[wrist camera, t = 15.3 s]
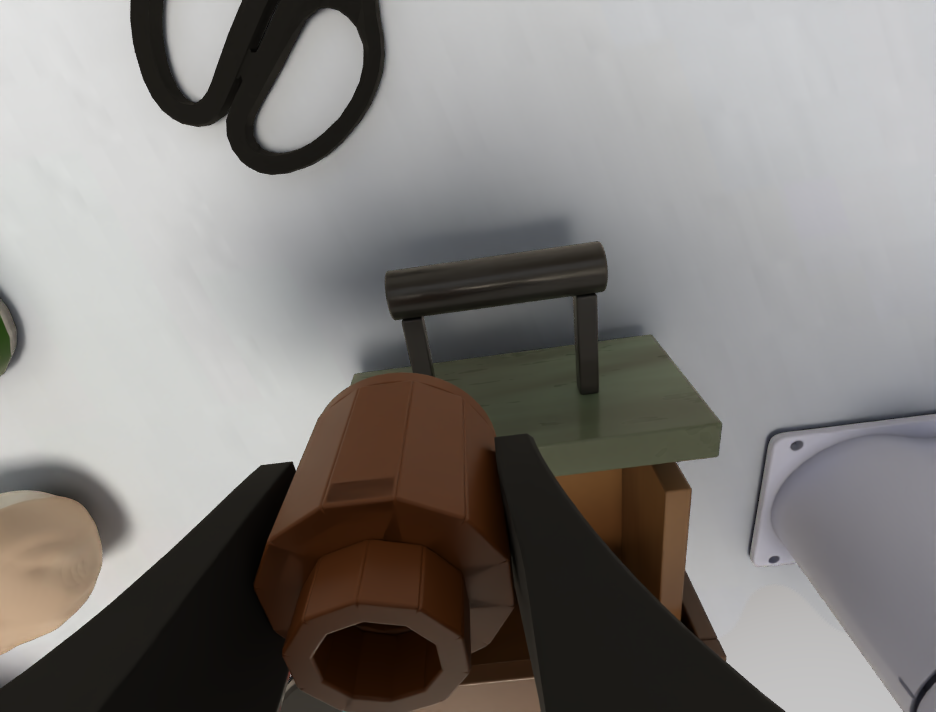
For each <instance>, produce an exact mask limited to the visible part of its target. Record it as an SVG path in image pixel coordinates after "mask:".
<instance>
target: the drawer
mask: <svg viewBox="0 0 936 712" xmlns="http://www.w3.org/2000/svg"><path fill="white" fill-rule="evenodd" d="M607 280H608V269H607V260H606V255H605V251H604V248H603V246H602V244H601V243H600V242H598V241H597V242H589V243H582V244H575V245H568V246H561V247H554V248H547V249H540V250H533V251H526V252H519V253H512V254H505V255H498V256H490V257H483V258H476V259H469V260H462V261H455V262H448V263H441V264H434V265H427V266H420V267H413V268H406V269H399V270H392V271H387V272H386V274H385V292H386V299H387V304H388V308H389V311H390V314H391V316H392V318H393V319H394V320H401V319H402V326H403V331H404V336H405V340H406V345H407V349H408V354H409V359H410V363H411V366H409V367H402V368H394V369H387V370H379V371H372V372H364V373H357V374H354V377H353V380H352V383H351V385H353V384H355V383H357V382H359V381H361V380H364V379H366V378H370V377H373V376H376V375H381V374H387V373H398V372H405V373H418V374H424V375H429V376H432V377H436V378H439V379H442V380H444V381H447V382H449V383H451V384H453V385H455V386H457V387H458V388H460V389H462V390H463V391H465V392H466V393H467V394H469V395H470V396H471V397H472V398H473V399H474V400H475V401H476V402H477V403H478V404H480V406H481V407H482V408H483V410H484V411H485V412H486V413H487V415H488V417H489V419H490V420H491V422H492V425H493V427H494V430H495V433H496V437H500V436H508V435H517V434H525V433H527V434H529V435H530V436H532V437H533V438H534V441H535V443H536V445H537V447H538V449H539V451H540V453H541V455H542V457H543V458H544V460H545V462H546V463H547V465H548V467H549V468H550V470H551V471H552V473H553V475H554V476H555V478H556V479H557V481H558V482H559V484H560V485H561V487H562V488H563V490H564V491H565V492H566V494H567V495H568V496H569V498H570V499H571V500H572V502H573V503H574V504H575V506H576V507H577V509H578V510H579V511H580V513H581V514H582V515H583V517H584V518H585V519H586V520H587V522H588V523H589V524H590V525H591V527H592V528H593V529H594V530H595V532H596V533H597V534H598V535H599V536H600V538H601V539H602V540H603V541H604V542H605V543H606V545H607V546H608V547H609V548H610V549H611V550H612V552H613V553H614V554H615V555H616V556H617V557H618V558H619V560H620V561H621V562H622V563H623V564H624V565H625V566H626V567H627V568H628V569H629V570H630V572H631V573H632V574H633V575H634V576H635V577H636V578H637V579H638V580H639V581H640V582H641V583H642V584H643V585H644V586H645V587H646V588H647V589H648V590H649V591H650V592H651V593H652V594H653V595H654V596H655V597H656V598H657V599H658V600H659V601H660V602H661V603H662V604H663V605H664V606H665V607H666V608H667V609H668V610H669V611H670V612H671V613H672V614H673V615H674V616H675V617H676V618H677V619H678V620H679V621H681V609H682V598H683V586H684V575H685V563H686V551H687V540H688V528H689V516H690V505H691V493H692V489H691V487H690V485H689V483H688V482H687V480H686V478H685V477H684V475H683V473H682V472H681V470H680V468H679V466H678V465H677V463H676V462H679V461H688V460H696V459H704V458H712V457H717V456H718V455H719V448H720V439H721V430H722V423H721V421H720V420H719V419H718V417H717V416H716V415H715V414H714V412H713V411H712V410H711V409H710V407H709V406H708V405H707V404H706V402H705V401H704V400H703V399H702V397H701V396H700V395H699V393H698V392H697V391H696V390H695V388H694V387H693V386H692V385H691V383H690V382H689V381H688V380H687V378H686V377H685V376H684V375H683V373H682V372H681V371H680V370H679V368H678V367H677V366H676V364H675V363H674V362H673V361H672V359H671V358H670V357H669V356H668V354H667V353H666V352H665V351H664V349H663V348H662V347H661V346H660V344H659V343H658V342H657V341H656V339H655V338H654V337H653V335H642V336H635V337H627V338H620V339H612V340H605V341H598V315H597V295H596V293H598V292H603V291H605V289H606V286H607ZM568 296H573V313H574V335H575V344H574V345H567V346H559V347H552V348H544V349H537V350H529V351H522V352H514V353H507V354H499V355H492V356H484V357H477V358H469V359H462V360H454V361H447V362H439V363H433V362H432V356H431V351H430V346H429V341H428V336H427V331H426V325H425V320H424V316H430V315H437V314H444V313H452V312H459V311H466V310H474V309H481V308H488V307H495V306H503V305H510V304H517V303H525V302H532V301H539V300H546V299H554V298H561V297H568ZM351 385H350V386H351ZM514 587H515V585H514ZM515 596H516V604H515V607H514V609H513V611H512V612H511V613H510V615H509V616H508V618H507V619H506V621H505V622H504V624H503V625H502V627H501V628H500V630H499V631H498V632H497V634H496V635H495V637H494V638H493V640H492V641H491V643H489V644H488V645H487V646H486V647H484V648H482V649H479V650H477V651H475V652H473V653H471V665H479V664H488V663H497V662H507V661H516V660H525V659H530V655H529V651H528V646H527V641H526V637H525V632H524V627H523V623H522V618H521V613H520V609H519V604H518V599H517V594H516V590H515Z"/></svg>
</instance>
